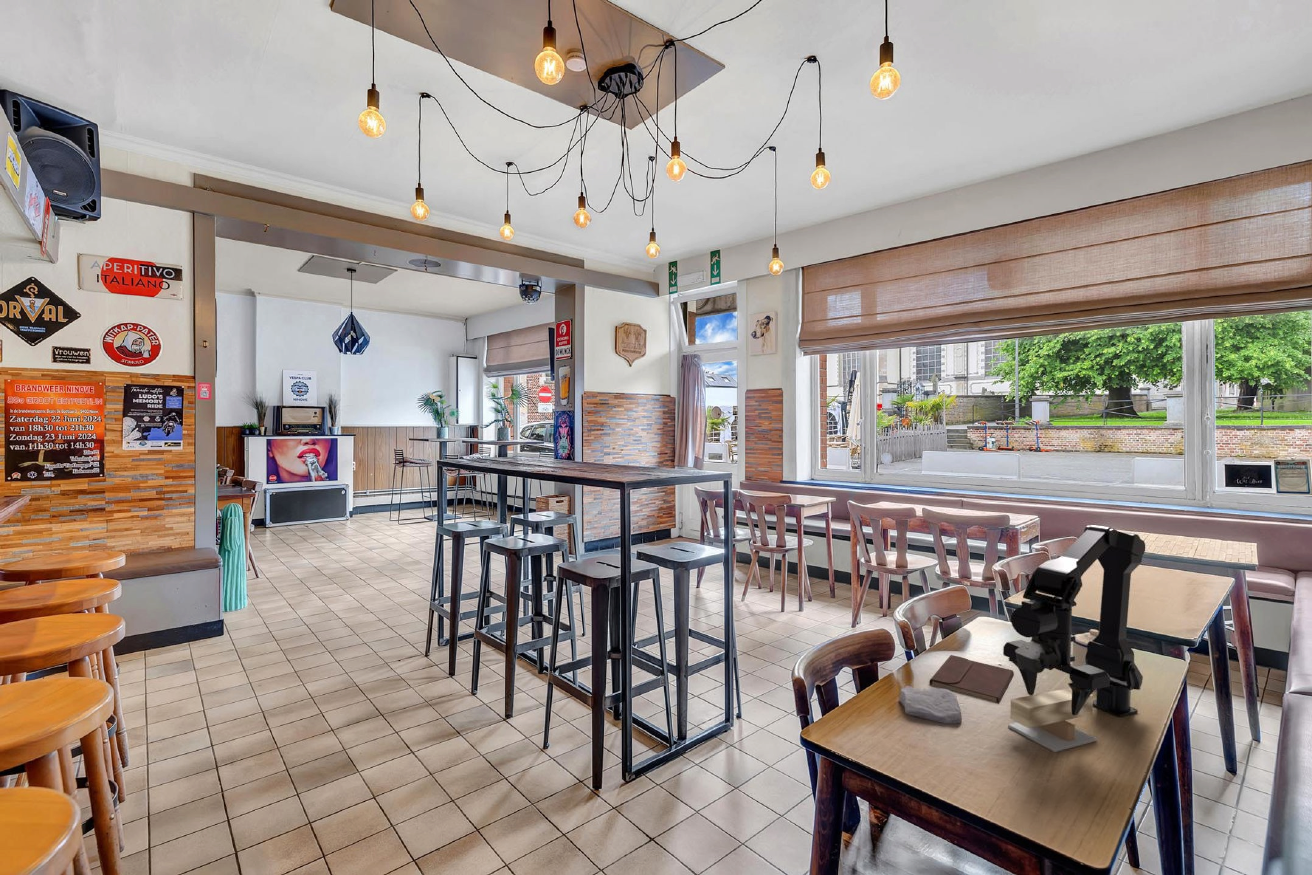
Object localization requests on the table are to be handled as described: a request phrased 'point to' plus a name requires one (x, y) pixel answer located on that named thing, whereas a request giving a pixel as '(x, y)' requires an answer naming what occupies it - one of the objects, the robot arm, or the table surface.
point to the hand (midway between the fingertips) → (1052, 704)
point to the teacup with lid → (1082, 646)
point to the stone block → (931, 704)
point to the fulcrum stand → (1055, 735)
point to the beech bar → (1047, 708)
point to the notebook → (973, 678)
